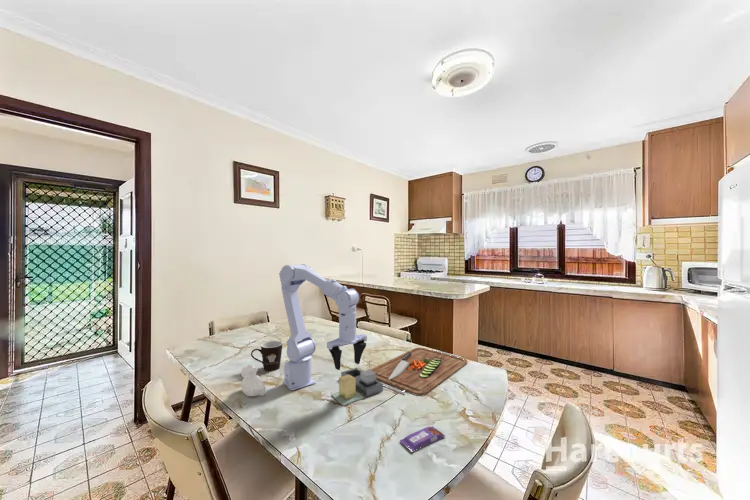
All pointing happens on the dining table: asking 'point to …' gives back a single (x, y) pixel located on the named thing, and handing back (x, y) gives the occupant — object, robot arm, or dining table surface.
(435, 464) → the dining table surface
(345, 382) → the tan wooden block
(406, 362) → the chopping board
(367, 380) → the gray metal block
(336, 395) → the mat
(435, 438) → the snack package
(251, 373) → the bust
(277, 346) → the coffee mug
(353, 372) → the gray slotted board
